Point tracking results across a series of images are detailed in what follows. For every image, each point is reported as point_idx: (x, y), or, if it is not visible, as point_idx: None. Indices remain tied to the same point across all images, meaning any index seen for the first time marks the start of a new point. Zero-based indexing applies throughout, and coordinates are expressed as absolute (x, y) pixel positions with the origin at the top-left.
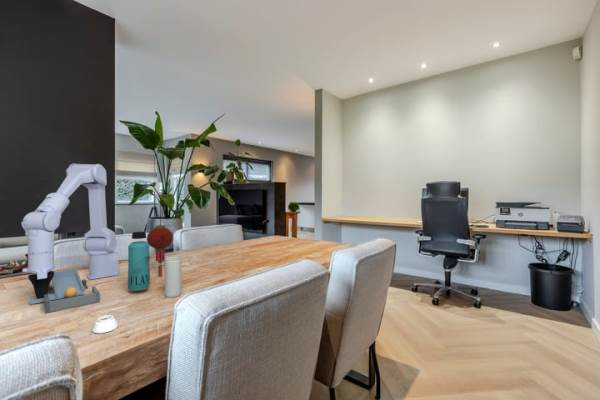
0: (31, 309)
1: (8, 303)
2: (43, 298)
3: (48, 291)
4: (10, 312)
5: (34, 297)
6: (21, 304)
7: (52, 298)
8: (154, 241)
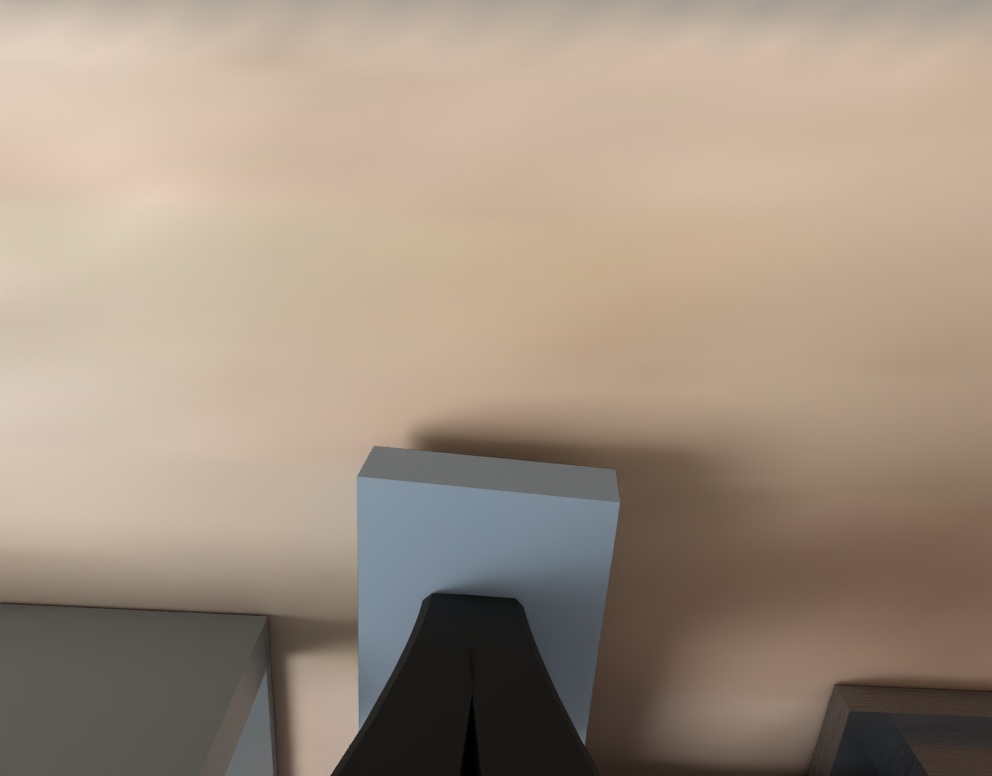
0: (78, 436)
1: (960, 90)
2: None
3: (918, 770)
4: (120, 102)
5: (579, 570)
6: (611, 313)
7: None
8: None
